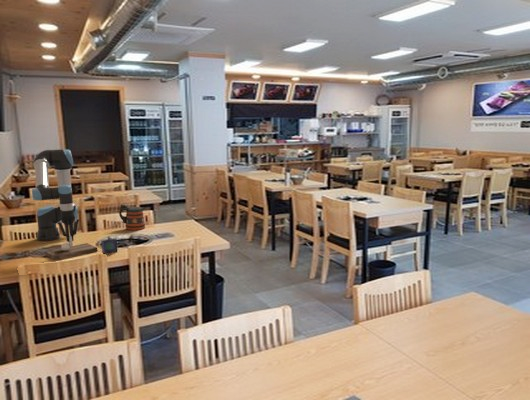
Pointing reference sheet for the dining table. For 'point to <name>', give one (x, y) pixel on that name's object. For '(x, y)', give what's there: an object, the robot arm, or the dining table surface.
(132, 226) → the beer stein
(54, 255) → the board
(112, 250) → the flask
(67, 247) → the ball
